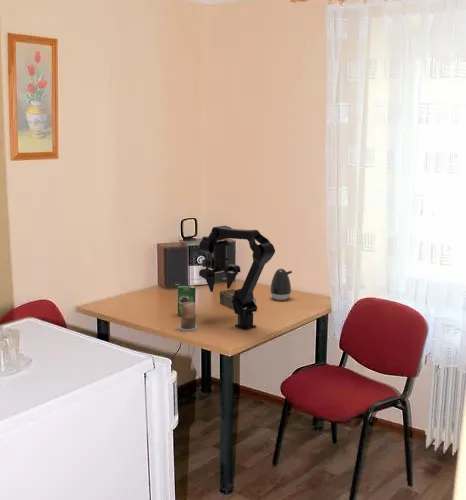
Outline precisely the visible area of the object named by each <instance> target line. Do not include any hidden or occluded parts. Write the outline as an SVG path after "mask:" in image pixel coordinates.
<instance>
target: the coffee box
mask: <svg viewBox="0 0 466 500" xmlns="http://www.w3.org/2000/svg"><path fill="white" fill-rule="evenodd" d="M183 302H194V303H195V304H196V286H194V285H178V287H177V316H181V303H183Z"/></svg>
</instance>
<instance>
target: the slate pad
mask: <svg viewBox="0 0 466 500" xmlns="http://www.w3.org/2000/svg"><path fill="white" fill-rule="evenodd" d="M198 329H199V328H198V325H197V324H196V327H195V328H193V329H183V328H181V324H180V325H179V326H178V330H180V331H183V332H192V331H195V330H198Z"/></svg>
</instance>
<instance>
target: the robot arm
mask: <svg viewBox="0 0 466 500" xmlns="http://www.w3.org/2000/svg"><path fill="white" fill-rule="evenodd" d="M228 239H234V240H246V241H247V242H248V244H249V248H250V249H251V251H252V255H251V257H252V264H251V266H250V268H249V271H248V273H247V275H246V277H245V280H244V281H243V284H242V286H241V288H238V289H234V290H235V292H234V295H233V297H232V298H233V299H232V303H233V308H234V309H233V310H234V314H235V315H237V324H235V325H234V326H235V327H236V328H239V329H242V330H248V329H253V328H257V325H256V324H254V313H256V312H257V310H258V306H257V305H256V304H255V303H254V301H253V298H255V297H254V290H255V288H256V286H257V283H258V281H259V280H260V276H261V274H262V272H263V270H264V267H265V265H266V264H268V262H269V261H270V260H271V259H272V258H273V256H274V255H275V253H276V249H275V246H274V244H272V243H271V241H270V240H269V238H267V237H265V236H264V235H263V234H261V232H259V230H258V229H242V228H232V227H230V226H228V225H219V226H213V227H212V229H211V232H210V233H209V235H208V236H202V239H201V241H200V242H199V245H198V249H199V250H200V251H201V252H203V253H208V254H213V256H211V259H210V260H209V259H202V261H201V265H202V267H203V268H201V269H199V271H198V276H199V277H201V278H203V279H204V280H205V282H206V283H207V285H208V289H209V291H210V292H211V293H213V292H214V287H215V279H216V278H215V275H217V274H223V273H225V275H226V288H227V290H230V288H231V287H232V284H233V283H234V281H235V278H236V277H237V275H239V273H241V266H240V265H237V264H234V263H229V264H227V263H228V262H227V261H229V257H228V256H227V255H228V253H227V252H228V251H227V250H228V246H229V247H230V246H231V245H232V244H231V243H230V241H228ZM258 243H259V244H258ZM246 307H247V308H246ZM243 308H246V309H243Z"/></svg>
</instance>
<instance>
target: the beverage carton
mask: <svg viewBox="0 0 466 500" xmlns="http://www.w3.org/2000/svg"><path fill="white" fill-rule="evenodd" d="M235 290H236V289H226V290H222V291H220V292H219V303H220V304H221V305H224V306H226V307H228V308H230V309H233V310H234V308H233V303H232V299H233V298H232V297H233V295H234V292H235ZM256 300H257V299H256V298H255V297H254V298H253V301H254V303H255V304H256ZM246 308H247V307H246ZM246 308H243V309H246Z"/></svg>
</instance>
